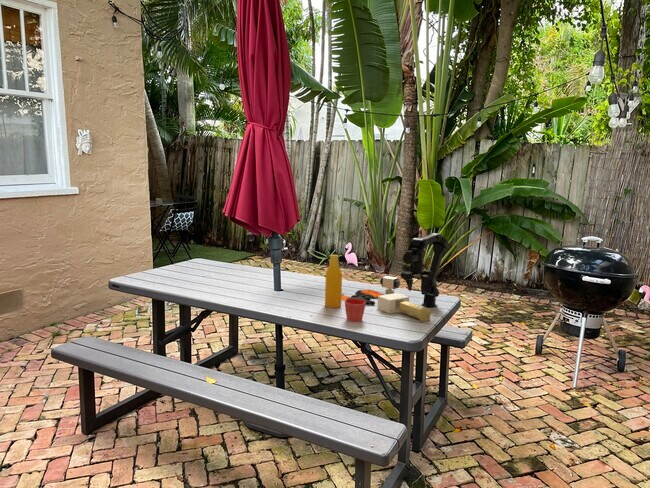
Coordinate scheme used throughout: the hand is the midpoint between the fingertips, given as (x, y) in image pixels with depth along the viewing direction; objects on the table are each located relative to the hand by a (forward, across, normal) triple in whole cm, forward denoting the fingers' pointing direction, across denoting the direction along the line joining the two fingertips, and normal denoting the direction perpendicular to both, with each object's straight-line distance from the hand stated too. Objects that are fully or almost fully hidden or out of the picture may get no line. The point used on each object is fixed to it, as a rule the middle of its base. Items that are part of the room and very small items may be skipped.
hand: (416, 289), depth 254 cm
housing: (+12, +8, -9) cm, 17 cm away
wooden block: (+12, +8, +8) cm, 16 cm away
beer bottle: (+12, +34, -30) cm, 47 cm away
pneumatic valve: (+12, -11, -34) cm, 38 cm away
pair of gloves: (+13, +8, -34) cm, 37 cm away
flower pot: (+12, +38, -4) cm, 40 cm away
